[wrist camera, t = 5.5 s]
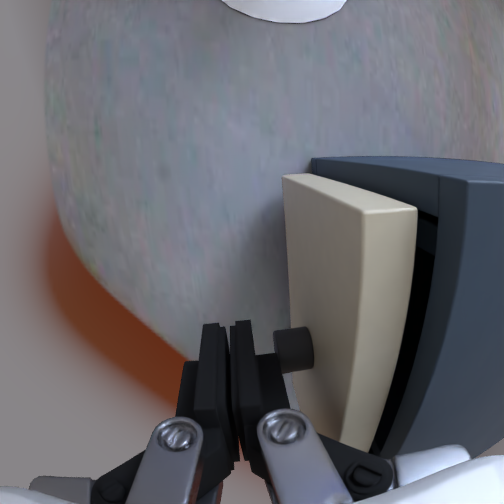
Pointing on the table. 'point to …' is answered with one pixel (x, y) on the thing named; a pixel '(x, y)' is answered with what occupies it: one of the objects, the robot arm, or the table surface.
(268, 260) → the table surface
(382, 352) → the drawer
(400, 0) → the table surface
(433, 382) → the cabinet
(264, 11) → the wineglass
